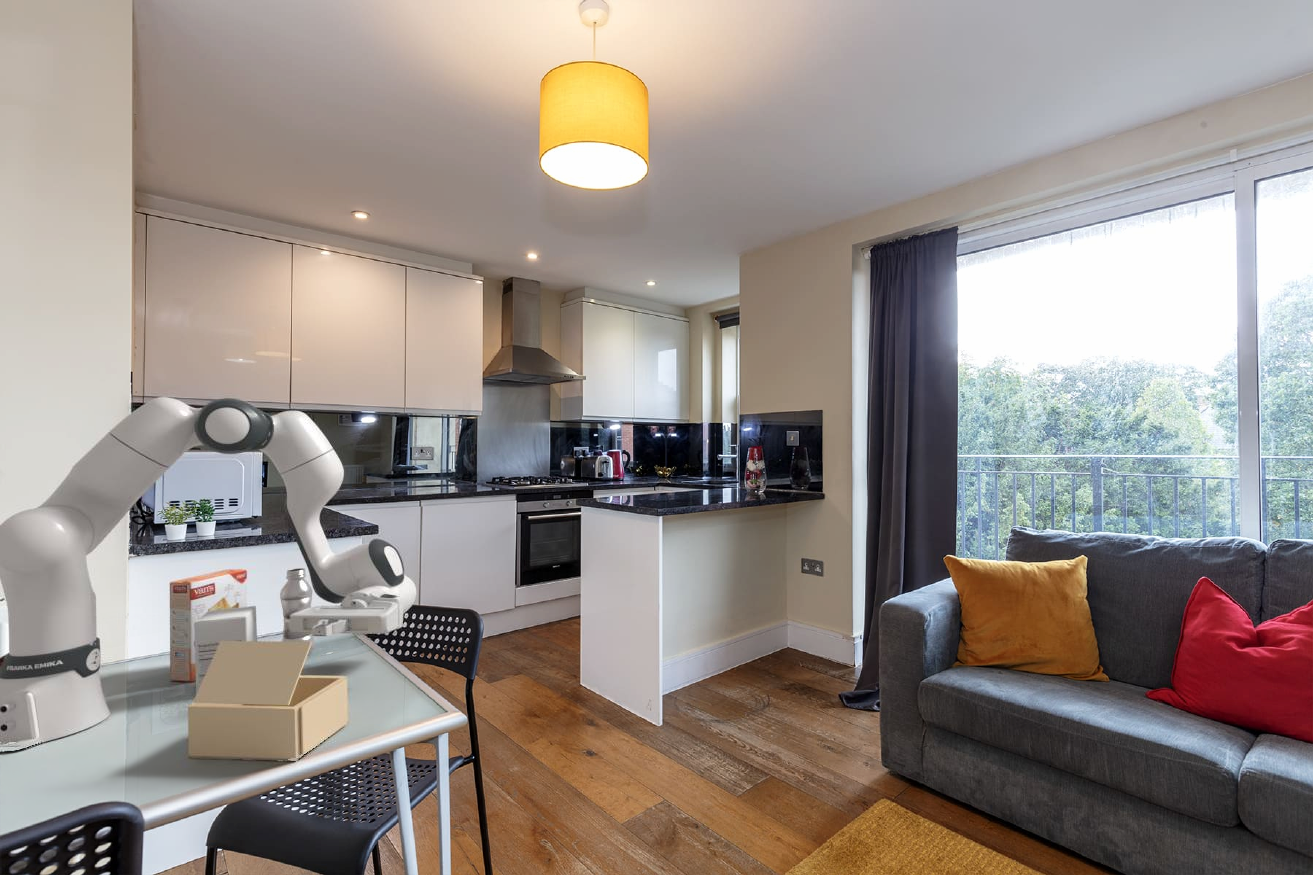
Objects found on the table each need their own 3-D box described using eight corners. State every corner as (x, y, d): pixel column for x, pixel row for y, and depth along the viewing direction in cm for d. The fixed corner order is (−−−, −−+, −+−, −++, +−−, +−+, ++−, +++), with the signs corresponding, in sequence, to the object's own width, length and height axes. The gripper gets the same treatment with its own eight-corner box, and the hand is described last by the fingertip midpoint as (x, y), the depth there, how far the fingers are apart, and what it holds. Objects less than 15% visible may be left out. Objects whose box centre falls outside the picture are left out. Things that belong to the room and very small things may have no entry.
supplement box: (208, 682, 127) (206, 610, 128) (259, 675, 131) (257, 604, 131) (194, 698, 119) (192, 621, 119) (248, 690, 122) (246, 615, 123)
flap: (192, 702, 95) (220, 640, 101) (194, 702, 95) (221, 641, 101) (287, 704, 93) (311, 641, 99) (289, 704, 94) (312, 642, 99)
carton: (185, 757, 95) (184, 706, 96) (252, 719, 109) (251, 673, 109) (298, 761, 93) (297, 708, 93) (352, 721, 107) (351, 675, 107)
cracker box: (192, 683, 127) (190, 582, 127) (168, 681, 128) (166, 581, 129) (250, 659, 141) (248, 568, 141) (228, 658, 142) (226, 568, 142)
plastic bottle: (306, 660, 139) (304, 571, 140) (275, 661, 139) (273, 573, 139) (319, 650, 146) (317, 566, 146) (290, 652, 145) (288, 567, 145)
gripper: (316, 596, 128) (266, 614, 114) (409, 596, 126) (370, 615, 112) (316, 626, 128) (267, 648, 114) (409, 627, 126) (370, 649, 112)
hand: (319, 631), depth 113 cm, fingers closed
